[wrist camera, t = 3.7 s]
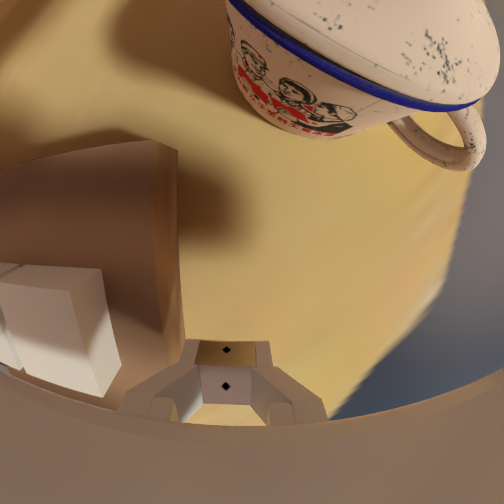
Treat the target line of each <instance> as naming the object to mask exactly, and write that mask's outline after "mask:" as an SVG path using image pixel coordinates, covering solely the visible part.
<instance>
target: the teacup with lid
mask: <svg viewBox="0 0 504 504" xmlns="http://www.w3.org/2000/svg"><path fill="white" fill-rule="evenodd" d="M225 3H226V12H227V21H228V30H229V39H230V48H231V57H232V67H233V72H234V76H235V80H236V82H237V85H238V87H239V89H240V91H241V92H242V94H243V96H244V97H245V99H246V100H247V101H248V103H249V104H250V105H251V106H252V107H253V108H254V109H255V110H256V111H257V112H258V113H259V114H260V115H261V116H263V117H264V118H265V119H266V120H268V121H269V122H271V123H272V124H274V125H276V126H278V127H279V128H281V129H283V130H286V131H288V132H291V133H293V134H296V135H299V136H303V137H308V138H314V139H338V138H344V137H348V136H351V135H354V134H356V133H359V132H362V131H365V130H367V129H370V128H373V127H376V126H379V125H381V124H384V123H387V124H388V125H389V126H390V127H391V129H392V130H393V131H394V132H395V133H396V134H397V135H398V137H399V138H400V139H401V140H402V141H403V142H404V143H405V144H406V145H407V146H408V147H409V148H411V149H412V150H413V151H414V152H416V153H417V154H418V155H420V156H421V157H423V158H424V159H426V160H428V161H429V162H431V163H433V164H435V165H437V166H440V167H442V168H445V169H448V170H452V171H459V172H464V171H469V170H472V169H474V168H475V167H476V166H477V165H478V163H479V162H480V160H481V159H482V157H483V155H484V152H485V149H486V134H485V129H484V126H483V123H482V121H481V119H480V117H479V115H478V113H477V111H476V109H475V108H474V106H473V104H475V103H476V102H477V101H478V100H480V99H481V98H482V96H484V95H485V94H486V93H487V92H488V91H489V89H490V88H491V87H492V85H493V83H494V81H495V79H496V77H497V74H498V70H499V64H500V49H499V42H498V38H497V34H496V31H495V27H494V24H493V22H492V20H491V17H490V15H489V13H488V11H487V9H486V7H485V5H484V3H483V2H482V0H225ZM421 111H430V112H447V113H448V115H449V116H450V118H451V119H452V121H453V122H454V124H455V125H456V127H457V129H458V131H459V133H460V135H461V137H462V139H463V142H464V147H456V146H452V145H449V144H446V143H443V142H441V141H439V140H437V139H435V138H434V137H432V136H431V135H429V134H428V133H426V132H425V131H424V130H423V129H422V128H421V127H420V126H419V125H418V124H417V123H416V122H415V121H414V120H413V119H412V118H411V117H410V115H412V114H415V113H418V112H421Z"/></svg>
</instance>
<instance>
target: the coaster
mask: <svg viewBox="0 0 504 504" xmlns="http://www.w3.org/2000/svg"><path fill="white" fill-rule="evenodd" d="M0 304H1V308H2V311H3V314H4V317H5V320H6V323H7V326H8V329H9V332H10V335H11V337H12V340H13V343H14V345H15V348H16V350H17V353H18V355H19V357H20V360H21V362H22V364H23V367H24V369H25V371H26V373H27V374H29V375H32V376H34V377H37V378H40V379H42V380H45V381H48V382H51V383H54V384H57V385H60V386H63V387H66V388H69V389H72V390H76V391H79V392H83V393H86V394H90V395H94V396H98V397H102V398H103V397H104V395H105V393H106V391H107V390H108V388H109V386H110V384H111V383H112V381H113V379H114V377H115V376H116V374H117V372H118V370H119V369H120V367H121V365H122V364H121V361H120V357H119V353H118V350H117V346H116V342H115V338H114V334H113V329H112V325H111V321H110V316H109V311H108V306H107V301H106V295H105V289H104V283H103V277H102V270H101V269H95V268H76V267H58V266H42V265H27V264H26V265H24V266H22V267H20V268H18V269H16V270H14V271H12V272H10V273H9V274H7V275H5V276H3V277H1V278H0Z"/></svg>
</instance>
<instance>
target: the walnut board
mask: <svg viewBox="0 0 504 504" xmlns="http://www.w3.org/2000/svg"><path fill="white" fill-rule="evenodd" d="M177 153H178V150H176V149H173V148H171V147H168V146H166V145H164V144H161V143H159V142H156V141H154V140H144V141H134V142H126V143H118V144H111V145H104V146H97V147H91V148H86V149H80V150H75V151H70V152H65V153H60V154H55V155H51V156H47V157H43V158H39V159H35V160H31V161H27V162H23V163H20V164H16V165H13V166H10V167H6V168H3V169H0V263H13V264H20V267H22V266H24V265H26V264H27V265H42V266H58V267H76V268H95V269H101V270H102V277H103V283H104V289H105V295H106V301H107V306H108V311H109V316H110V321H111V325H112V329H113V334H114V338H115V342H116V346H117V350H118V353H119V357H120V361H121V364H122V365H121V367H120V369H119V370H118V372H117V374H116V376H115V377H114V379H113V381H112V383H111V384H110V386H109V388H108V390H107V391H106V393H105V395H104V397H103V398H102V397H98V396H94V395H90V394H86V393H83V392H79V391H76V390H72V389H69V388H66V387H63V386H60V385H57V384H54V383H51V382H48V381H45V380H42V379H40V378H37V377H34V376H32V375H29V374H27V373H26V371H25V369H24V367H23V368H22V369H21V370H17V369H15V368H13V367H10V366H8V365H6V366H7V368H8V370H9V372H10V374H11V375H12V376H14V377H17V378H19V379H21V380H23V381H25V382H28V383H30V384H33V385H35V386H37V387H40V388H42V389H45V390H48V391H50V392H53V393H56V394H58V395H61V396H64V397H67V398H70V399H73V400H76V401H80V402H83V403H86V404H90V405H93V406H97V407H101V408H105V409H109V410H113V411H117V410H118V408H119V405H120V403H121V401H122V399H123V397H124V395H125V393H126V391H127V390H129V389H131V388H132V387H134V386H136V385H138V384H140V383H141V382H143V381H145V380H147V379H148V378H150V377H152V376H153V375H155V374H157V373H159V372H160V371H162V370H164V369H165V368H167V367H169V366H170V365H172V364H174V363H179V360H180V357H181V354H182V351H183V348H184V345H185V342H186V340H185V330H184V320H183V310H182V298H181V285H180V270H179V251H178V223H177Z"/></svg>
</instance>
